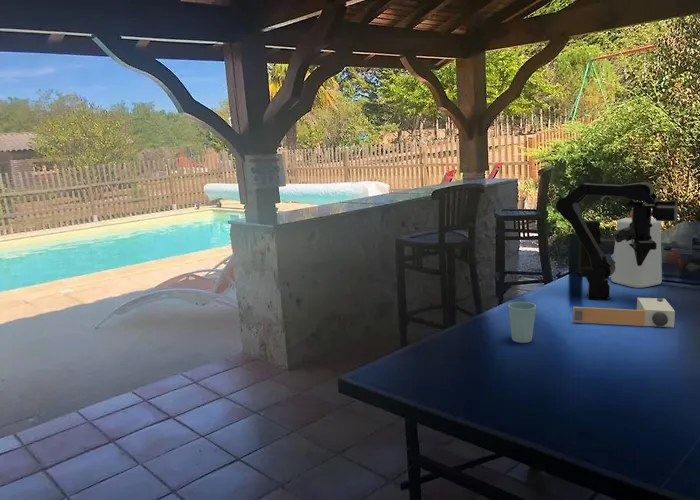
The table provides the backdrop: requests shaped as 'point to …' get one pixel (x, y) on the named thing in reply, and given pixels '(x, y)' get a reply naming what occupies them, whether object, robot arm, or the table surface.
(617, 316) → the side door
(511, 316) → the cup
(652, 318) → the camera housing
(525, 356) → the table surface
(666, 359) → the table surface
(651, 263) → the plastic bottle
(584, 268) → the portable radio
